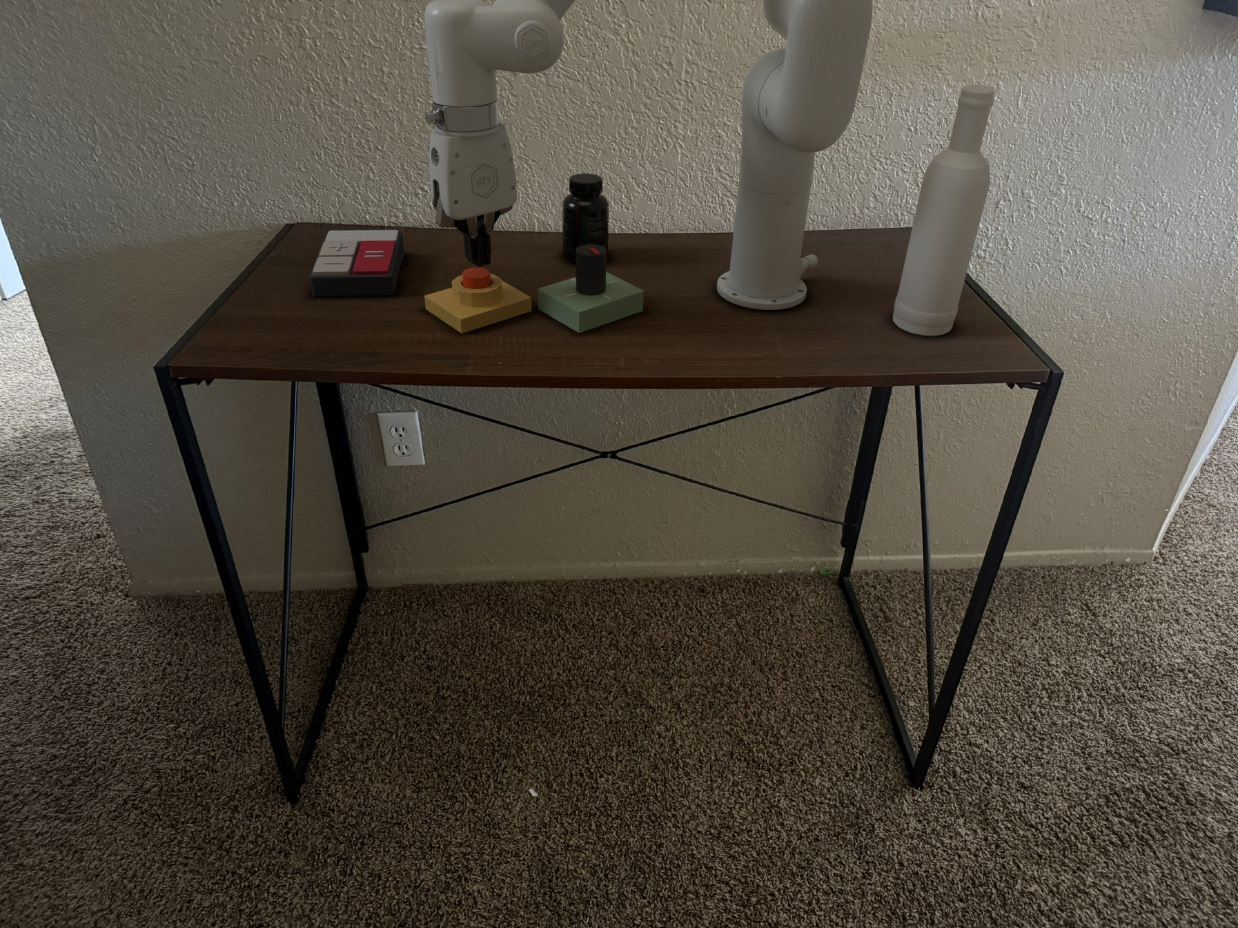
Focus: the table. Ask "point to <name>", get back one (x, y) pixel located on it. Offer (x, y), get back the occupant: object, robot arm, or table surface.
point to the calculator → (358, 263)
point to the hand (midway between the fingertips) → (479, 262)
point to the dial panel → (590, 303)
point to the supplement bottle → (584, 215)
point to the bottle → (946, 222)
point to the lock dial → (591, 269)
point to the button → (476, 278)
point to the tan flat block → (477, 304)
